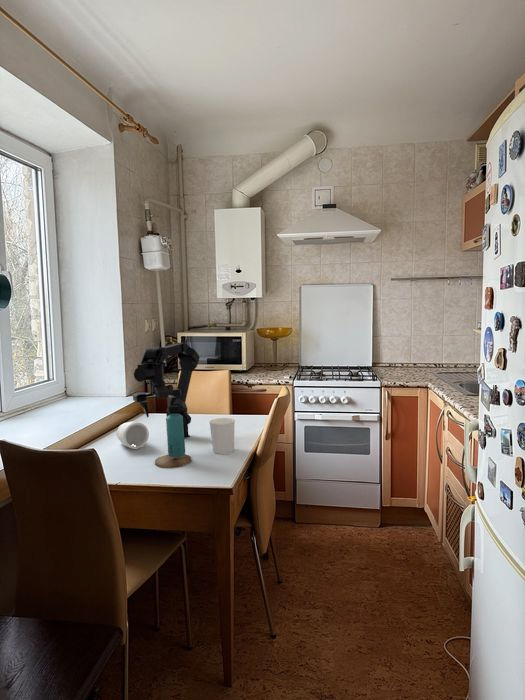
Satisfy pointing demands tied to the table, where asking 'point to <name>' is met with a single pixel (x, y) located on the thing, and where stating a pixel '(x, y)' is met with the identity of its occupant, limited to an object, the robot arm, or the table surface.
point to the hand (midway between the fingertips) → (158, 415)
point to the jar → (133, 434)
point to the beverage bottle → (175, 433)
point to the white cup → (222, 435)
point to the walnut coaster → (172, 461)
